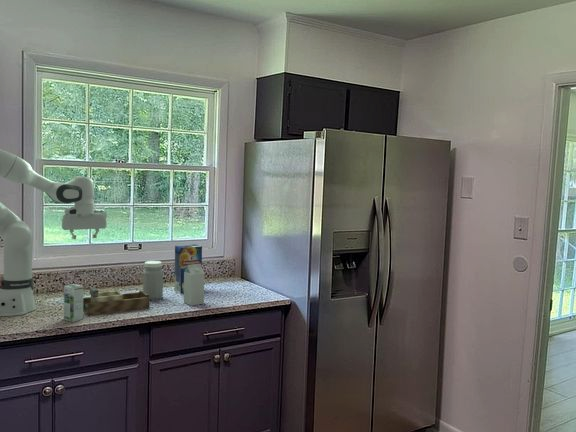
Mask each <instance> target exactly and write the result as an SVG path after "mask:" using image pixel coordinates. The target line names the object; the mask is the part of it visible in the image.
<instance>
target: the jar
mask: <svg viewBox="0 0 576 432" xmlns="http://www.w3.org/2000/svg"><path fill="white" fill-rule="evenodd" d="M162 266H163V264H162V261H160V260H147V261H145V262H144V269H143V270H142V291H144V292H145V293H147V294H148V295H149V301H156V300H157V299H158V300H160V298H161V299H162V297H163V295H164V271H163V268H162Z"/></svg>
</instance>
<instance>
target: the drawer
mask: <svg viewBox="0 0 576 432" xmlns="http://www.w3.org/2000/svg"><path fill="white" fill-rule="evenodd" d="M123 294H124V293H121V292H120V291H119V290H112V291H109V290H108V291H101V292H100V291H99V290H98V289H97V288H96V287H95V286H91V287H89V295H90V297H91V303H97V302H107V301H116V300H123Z"/></svg>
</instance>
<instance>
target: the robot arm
mask: <svg viewBox="0 0 576 432" xmlns="http://www.w3.org/2000/svg"><path fill="white" fill-rule="evenodd" d="M0 177H2V178H3V179H5V180H9V181H11V182H15V183H17V184H25V185H28V186H30V187H33V188H35V189H36V190H39V191H41V192H44V193H45V194H46V195H47V196H48V197H49V199H50V200H52V201H53V202H54V203H60V204H71V203H74V206H71V207H68V208H65V209H64V210H63V212H64V214H63V215H62V219H61V229H63V230H64V231H69V233H70V234H71V237H72V238H71V239H72V240H77V235H76V234H74V231H77V230H94V231H95V232H94V233H93V234H92V239H97V236H98V233H99V232H100V230H101V229H102V230H104V229H106V228H107V226H108V225H107V215H108V214H107V211H105V210H104V209H95V202H94V197H95V186H94V181H93V179H92V178H90V177H86V176H82V175H78V176H75V177H74V178H73V179H70V180H69V181H66V182H63V181H53V180H51V179H48V178H47V177H45V176H43V175H41V174H39V173H37V172H36V170H34V169H33V168H32V165H31V164H30V163H29V162H28V161H26V160H25V159H23V158H21V157H20V156H18V155H16V154H14V153H11V152H9V151H6V150H3V149H1V148H0ZM0 238H1V239H3V278H2V279H1V278H0V317H8V316H9V317H10V316H12V317H13V316H22V315H26V314H27V313H30V312H33V311H35V310H37V305H36V301H35V297H34V291H33V290H34V277H33V241H34V239H33V238H34V237H33V232H32V230H31V228H30V227H29V225H28V224H27V223H26V222H24V220H23V219H21V218H20V217H19V216H17V214H15V213H14V212H13V211H12V210H11V209H9V208H8V206H6V205H4V204H3V202H2V201H0Z"/></svg>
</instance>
